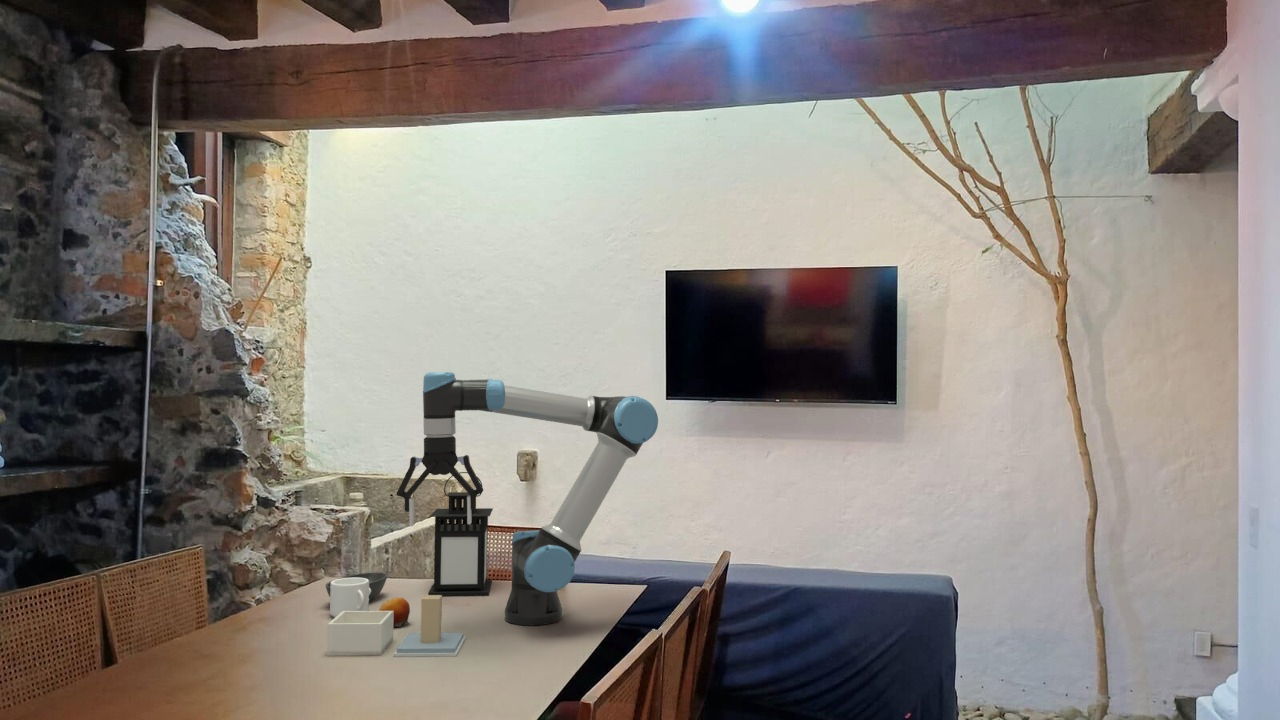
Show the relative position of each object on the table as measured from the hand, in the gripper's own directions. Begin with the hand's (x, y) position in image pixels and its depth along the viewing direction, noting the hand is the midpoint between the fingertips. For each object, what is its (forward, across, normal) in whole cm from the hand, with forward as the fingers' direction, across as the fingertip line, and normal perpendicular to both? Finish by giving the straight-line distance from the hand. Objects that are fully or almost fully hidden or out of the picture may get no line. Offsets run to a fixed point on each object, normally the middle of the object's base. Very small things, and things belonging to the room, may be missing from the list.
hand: (440, 524), depth 211 cm
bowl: (+27, +28, -40) cm, 56 cm away
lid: (+27, +2, +6) cm, 28 cm away
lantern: (+28, 0, -54) cm, 61 cm away
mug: (+27, +26, -24) cm, 45 cm away
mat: (+27, +2, +6) cm, 28 cm away
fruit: (+28, +14, -14) cm, 34 cm away
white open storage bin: (+27, +18, +5) cm, 33 cm away
